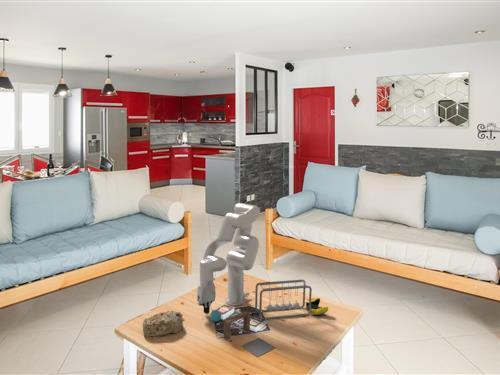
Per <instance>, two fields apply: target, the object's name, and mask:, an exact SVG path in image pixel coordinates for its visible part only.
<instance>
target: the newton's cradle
mask: <svg viewBox="0 0 500 375" xmlns="http://www.w3.org/2000/svg"><path fill="white" fill-rule="evenodd" d="M296 283H303V284H302V285H297V284H296ZM284 284H289V286H284ZM291 284H296V285H294V286H293V285H291ZM272 285H276V287H272ZM277 285H283V286H280V287H278V286H277ZM259 286H260V287H261V290H260V291H259V312H258V313H259V314H258V315H259V319H260V318H262V317H263V316H261V315H262V313H265V312H278V311H287V310H288V311H289V310H291V311H292V310H299V309H298V308H300V309H301V310H302V312H304V313H298V314H291V315H290V314H289V315H281V316H279V315H278V316H271V317H270V316H269V317H264V318H265V319H266V320H279V319H288V317H289V318H297V316H299V317H306V315H308V316H310V315H311V314H310V312H311V301H312V293H313V292H312V290H313V288H312V286H310V285H307V284H306V280H304V279H291V280H290V279H289V280H277V281H267V282H266V281H265V282H264V281H263V282H258V283H256V285H255V292H254V293H255V296H254V298H255V300H254V302H255V303H254V305H255V308H254V309H255V312H256V311H258V288H259ZM263 286H268V288H265V287H263ZM299 289H300V290H301V289H303V291H302V292H303V293H302V305H300V302H297V301H295V302H294V303H293V304H292V303H291V302H288V303H286V304H285V303H284V301H285V299H284V294H285V290H288V291H289V290H294V291H295V292H294V294H295V295H297V294H298V292H299ZM306 289H309V293H308V294H309V297H308V298H309V299H308V302H309V312H308V311H307V313H306V312H305V310H304V309H303V308H304V307H305V306H306V301H305V300H306ZM272 291H273V292H274V291H275V292H277V291H282V292H281V293H282V294H281V295H282V296H281V297H282V303H280V304H278V303H274V305H272V304H271V302H272V299H271V293H272ZM296 291H297V292H296ZM263 292H268V293H269V296H268V297H269V304H268V305H267V306H266V309H262V308H263V306H262V305H263V303H262V302H263ZM270 292H271V293H270ZM283 292H284V293H283ZM278 295H279V294H276V299H278ZM291 295H292V293H289V298H292V297H291ZM261 311H262V312H261ZM266 320H265V321H266Z"/></svg>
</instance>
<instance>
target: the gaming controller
mask: <svg viewBox="0 0 500 375" xmlns="http://www.w3.org/2000/svg"><path fill="white" fill-rule="evenodd" d="M320 303H321V299H320V298H319V297H314V298H313V299H311V312H310V314H309V315H312V316H320V315H324V314H325V313H327V312H328V311H329V306H327V305H326V306H323V307H320V306H319V305H320ZM305 310H306V311H307V312H308V311H309V301H308V302H307V301H305Z"/></svg>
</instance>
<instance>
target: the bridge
mask: <svg viewBox="0 0 500 375" xmlns="http://www.w3.org/2000/svg"><path fill="white" fill-rule="evenodd" d="M242 319H243V321H242V322H243V323H242V330H243V331H245V332H250V331H249V329H250V330H251V312H249V311H248V310H246V311H243V312H240V313H237V314H235V315H232V316H230V317H227V318H226V319H223V339H225V340H227V341H229V340H231V336H232V335H231V331H232V328H231V327H232V325H231V323H234V322H236V321H239V320H242Z"/></svg>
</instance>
